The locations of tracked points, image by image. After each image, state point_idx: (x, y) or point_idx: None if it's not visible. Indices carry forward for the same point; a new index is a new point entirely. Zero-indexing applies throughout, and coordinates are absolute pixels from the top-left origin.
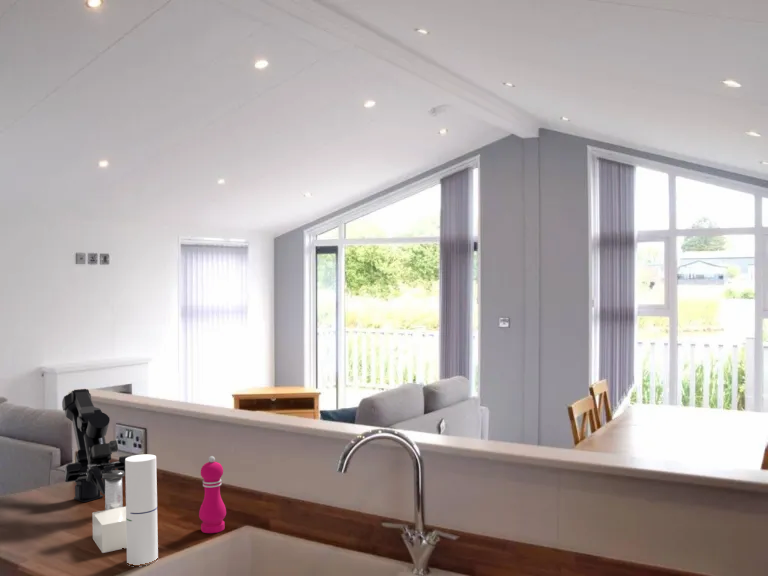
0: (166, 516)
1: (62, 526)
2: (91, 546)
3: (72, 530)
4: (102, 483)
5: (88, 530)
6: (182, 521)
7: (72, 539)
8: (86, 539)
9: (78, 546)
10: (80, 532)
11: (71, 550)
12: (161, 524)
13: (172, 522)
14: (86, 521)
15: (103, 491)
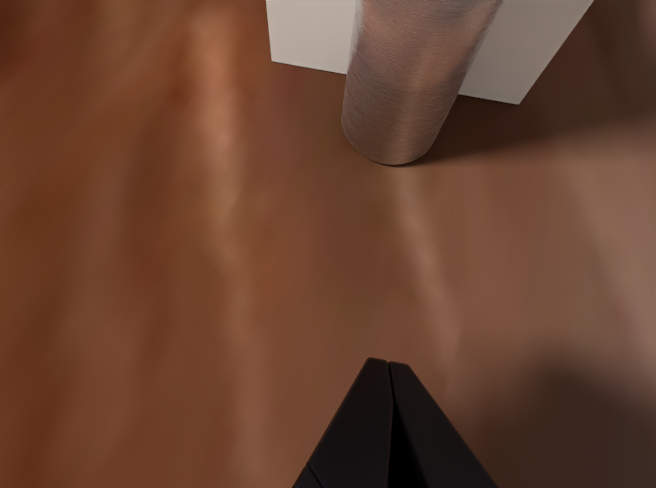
0: (27, 145)
1: (648, 480)
2: None
3: (594, 328)
4: (427, 461)
5: (506, 251)
6: (37, 15)
7: (615, 172)
8: (548, 120)
9: (600, 62)
10: (556, 252)
11: (637, 40)
12: (142, 50)
13: (82, 37)
14: None
15: (408, 373)
